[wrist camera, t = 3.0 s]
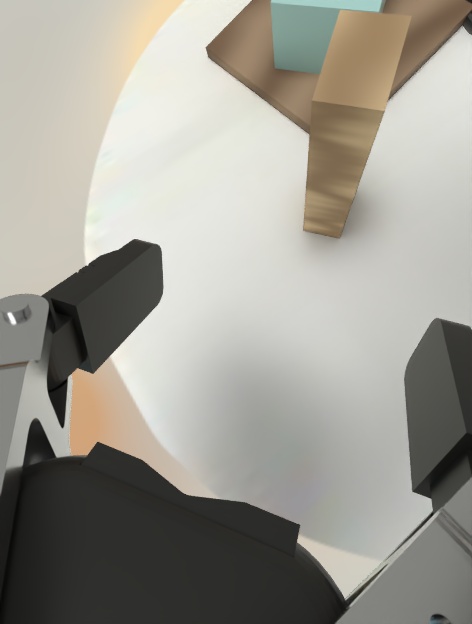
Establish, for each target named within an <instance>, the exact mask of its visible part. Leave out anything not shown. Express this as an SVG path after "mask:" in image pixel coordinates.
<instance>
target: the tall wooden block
mask: <svg viewBox="0 0 472 624" xmlns="http://www.w3.org/2000/svg"><path fill="white" fill-rule="evenodd" d="M411 17H412V16H408V15H396V14H384V13H373V12H361V11H350V10H340V12H339V15H338V18H337V21H336V25H335V28H334V31H333V34H332V37H331V41H330V44H329V47H328V50H327V54H326V57H325V60H324V63H323V66H322V70H321V73H320V76H319V79H318V83H317V86H316V89H315V92H314V95H313V99H312V107H311V122H310V137H309V152H308V167H307V182H306V197H305V212H304V226H303V230H304V231H309V232H313V233H318V234H322V235H326V236H331V237H335V238H340V236H341V233H342V230H343V227H344V224H345V222H346V219H347V216H348V213H349V210H350V207H351V205H352V202H353V199H354V196H355V193H356V191H357V188H358V185H359V182H360V179H361V176H362V174H363V171H364V168H365V165H366V162H367V160H368V157H369V154H370V151H371V148H372V145H373V143H374V140H375V137H376V134H377V131H378V128H379V126H380V123H381V120H382V117H383V114H384V112H385V108H386V105H387V101H388V98H389V94H390V91H391V87H392V84H393V80H394V77H395V73H396V70H397V66H398V62H399V59H400V55H401V52H402V48H403V45H404V41H405V38H406V34H407V31H408V27H409V24H410V20H411Z"/></svg>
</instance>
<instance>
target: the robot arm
mask: <svg viewBox="0 0 472 624" xmlns="http://www.w3.org/2000/svg"><path fill="white" fill-rule="evenodd" d="M162 294H163V269H162V251H161V248H160V246H159V245H157V244H153V243H150V242H146V241H142V240H138V239H134V240H132V241H130V242H129V243H128V244H126V245H125V246H123V247H122V248H120V249H119V250H116V251H113V252H110V253H107V254H104V255H101V256H99V257H98V258H96V259H95V260H94V261H92V262H91V263H89V265H88V266H85V267H83V268H82V269H80V270H79V272H78V273H77V272H76V273H74V274H73V275H71V276H70V277H69V278H67V279H66V280H64V281H63V282H61V283H60V284H58V285H57V286H55V287H54V288H52V289H51V290H49V291H48V292H46V293H45V294H44V295H42V296H38V295H34V294H19V295H13V296H8V297H5V298H3V299H0V624H472V330H471V328H470V327H469V326H466V325H463V324H459V323H455V322H451V321H447V320H443V319H439V318H436V319H434V320H433V321H432V322H431V324H430V325H429V327H428V329H427V331H426V332H425V334H424V336H423V337H422V339H421V341H420V342H419V344H418V346H417V348H416V349H415V351H414V353H413V354H412V356H411V358H410V360H409V362H408V364H407V367H406V371H405V377H404V383H405V397H406V410H407V424H408V438H409V452H410V465H411V479H412V492H415V493H417V494H420V495H423V496H426V497H428V498H431V499H432V507H433V511H432V512H431V513H430V514H429V515H428V516H427V517H426V518H425V519H424V520H423V521H422V522H421V523H420V524H419V525H418V526H417V527H416V528H415V529H414V530H413V531H412V532H411V533H410V534H409V535H408V536H407V537H406V538H405V539H404V540H403V541H402V542H401V543H400V544H399V545H398V546H397V547H396V548H395V549H394V550H393V552H392V553H391V554H390V555H389V556H388V557H387V558H386V559H385V560H384V561H383V562H382V563H381V564H380V565H379V566H378V567H377V568H376V569H375V570H374V571H373V572H372V573H371V574H370V575H369V576H368V577H367V578H366V579H365V580H364V581H363V582H362V583H360V584H359V585H358V587H356V588H355V589H354V590H353V591H352V592H351V594H349V596H348V597H347V598H346V599H344V597H343V595H342V593H341V591H340V590H339V588H338V587H337V585H336V584H335V582H334V581H333V579H332V578H331V576H330V575H329V574H328V573H327V571H326V570H325V569H324V568H323V566H322V565H321V564H320V563H319V562H318V561H317V560H316V559H315V558H314V557H313V556H312V555H311V554H310V553H309V552H308V551H307V550H306V549H305V548H304V547H302V546H301V545H300V544H298V543H297V539H298V533H299V527H300V525H299V524H296V523H294V522H291V521H289V520H286V519H284V518H282V517H279V516H277V515H274V514H272V513H269V512H267V511H265V510H262V509H260V508H257V507H255V506H252V505H250V504H248V503H245V502H237V501H229V500H221V499H213V498H204V497H195V496H189V495H186V494H184V493H182V492H181V491H180V490H178V489H177V488H176V487H175V486H173V485H172V484H171V483H169V481H167V480H166V479H165V478H164V477H162V476H161V475H160V474H159V473H158V472H156V471H155V470H154V469H152V468H151V467H150V466H149V465H148V464H147V463H145V462H144V461H143V460H141V459H138V458H136V457H134V456H131V455H129V454H126V453H124V452H121V451H119V450H116V449H114V448H112V447H109V446H107V445H104V444H102V443H99V442H97V443H96V445H95V446H94V447H93V449H92V450H91V451H90V453H89V454H88V455H87V456H85V455H80V456H71V451H70V444H69V430H70V414H71V399H72V382H73V381H72V377H71V374H72V373H73V372H74V371H75V370H76V369H77V368H79V369H82V370H84V371H87V372H90V373H92V374H93V373H94V372H95V371H96V370H97V369H98V368H99V367H100V366H101V365H102V364H103V363H104V362H105V360H107V358H108V357H109V356H110V355H111V354H112V353H113V352H114V351H115V350H116V349H117V348H118V347H119V346H120V345H121V344H122V342H123V341H124V340H125V339H126V338H127V337H128V336H129V335H130V334H131V333H132V332H133V331H134V330H135V329H136V327H137V326H138V325H139V324H140V323H141V322H142V321H143V320H144V319H145V318H146V317H147V316H148V315H149V314H150V312H151V311H152V310H153V309H154V308H155V307H156V306H157V305H158V303H159V302H160V300H161V297H162Z"/></svg>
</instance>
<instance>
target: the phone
mask: <svg viewBox="0 0 472 624" xmlns="http://www.w3.org/2000/svg"><path fill="white" fill-rule="evenodd" d="M466 1H468V2H469V3H471V4H472V0H466ZM463 26H464V27H465V29H466V30H467V32H468V33H469V34H471V35H472V12H471V13H470V14H469V15H468V16H467V17H466V19H465V21H464V23H463Z"/></svg>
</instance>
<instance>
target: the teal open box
mask: <svg viewBox="0 0 472 624" xmlns="http://www.w3.org/2000/svg"><path fill="white" fill-rule="evenodd" d="M385 2H386V0H271V18H272V33H273V48H274V63H275V68H276V69H284V70H292V71H299V72H307V73H315V74H320V73H321V70H322V66H323V63H324V60H325V57H326V54H327V50H328V47H329V44H330V41H331V37H332V34H333V31H334V28H335V25H336V21H337V18H338V15H339V12H340V10H350V11H361V12H373V13H382V12H383V9H384V5H385Z"/></svg>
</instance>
